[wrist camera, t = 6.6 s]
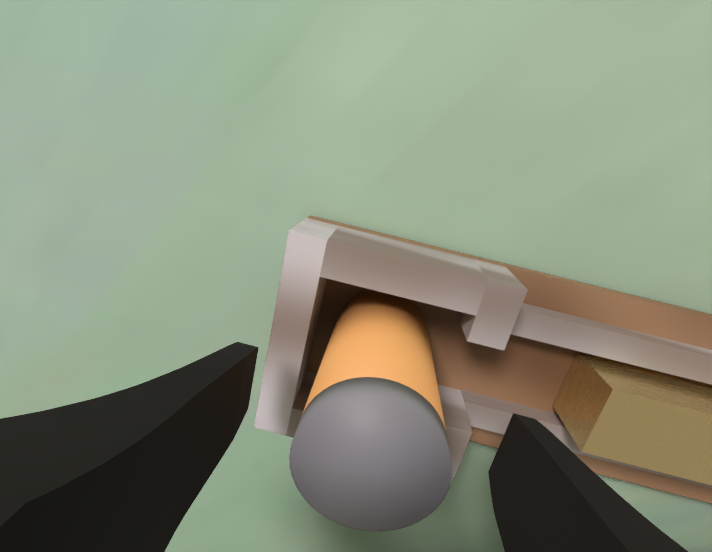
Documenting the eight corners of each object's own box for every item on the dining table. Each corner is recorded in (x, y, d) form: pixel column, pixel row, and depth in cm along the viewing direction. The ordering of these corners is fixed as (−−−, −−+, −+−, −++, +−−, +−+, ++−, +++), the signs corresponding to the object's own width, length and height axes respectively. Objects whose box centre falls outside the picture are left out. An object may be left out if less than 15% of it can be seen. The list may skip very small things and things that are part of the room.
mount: (756, 505, 17) (833, 580, 14) (278, 382, 17) (253, 429, 14) (865, 352, 14) (987, 403, 11) (310, 215, 15) (288, 230, 12)
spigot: (414, 383, 16) (427, 547, 9) (327, 363, 16) (279, 509, 9) (438, 301, 15) (472, 420, 8) (344, 280, 15) (302, 380, 8)
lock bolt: (754, 457, 15) (820, 513, 13) (552, 406, 16) (581, 451, 13) (790, 404, 15) (867, 453, 12) (578, 351, 15) (612, 389, 12)
